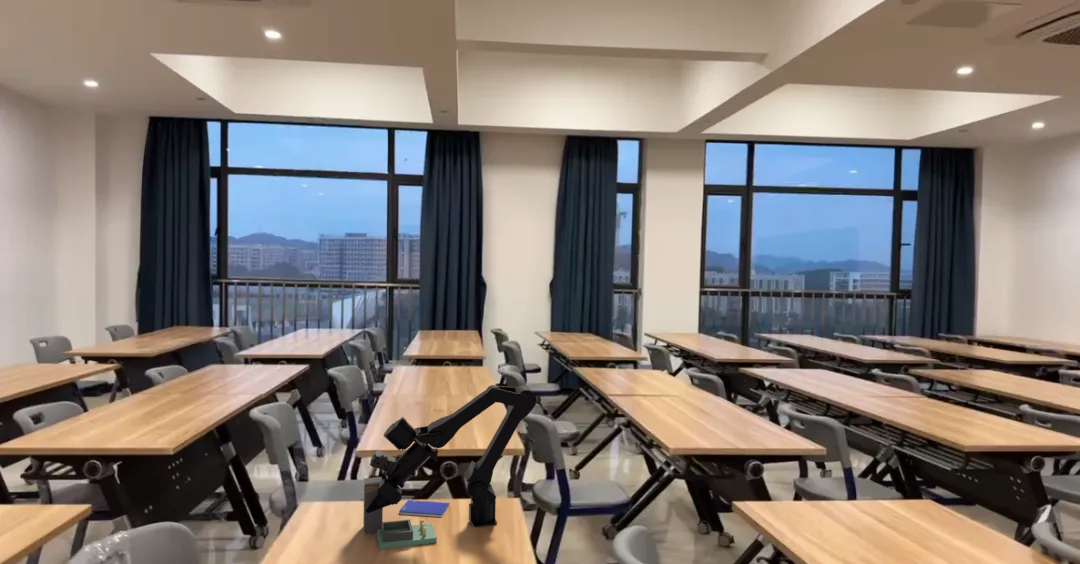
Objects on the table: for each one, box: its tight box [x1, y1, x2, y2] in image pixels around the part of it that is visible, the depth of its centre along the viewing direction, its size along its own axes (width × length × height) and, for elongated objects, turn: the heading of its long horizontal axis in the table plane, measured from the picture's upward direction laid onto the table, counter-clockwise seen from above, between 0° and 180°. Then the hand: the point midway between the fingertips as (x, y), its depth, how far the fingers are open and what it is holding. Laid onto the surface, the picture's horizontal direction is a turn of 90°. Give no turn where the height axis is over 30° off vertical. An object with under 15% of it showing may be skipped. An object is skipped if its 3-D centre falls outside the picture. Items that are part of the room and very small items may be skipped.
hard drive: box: [398, 499, 451, 518], centre depth 181 cm, size 2×8×12 cm
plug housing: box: [362, 476, 384, 535], centre depth 167 cm, size 5×5×13 cm
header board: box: [376, 518, 438, 550], centre depth 163 cm, size 14×9×3 cm, turn 108°
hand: (367, 504), depth 167 cm, fingers open, 9 cm apart
